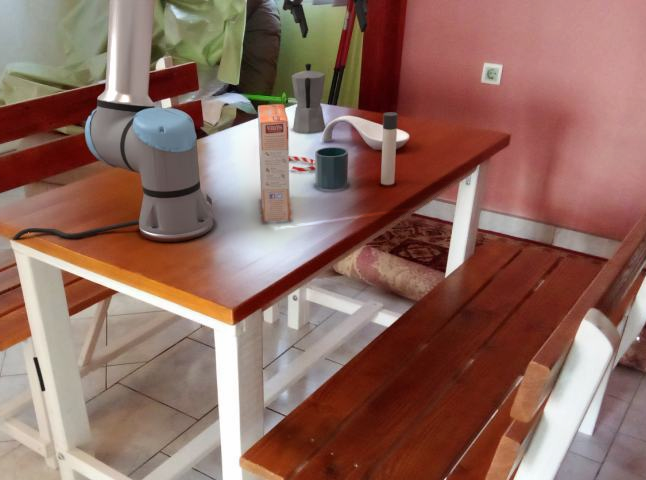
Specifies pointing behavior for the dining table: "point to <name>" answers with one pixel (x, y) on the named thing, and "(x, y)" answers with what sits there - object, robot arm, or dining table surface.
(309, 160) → the candy cane
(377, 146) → the spoon rest
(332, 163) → the pen holder
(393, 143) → the marker
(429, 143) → the dining table surface
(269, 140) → the cracker box
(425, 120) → the dining table surface
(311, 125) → the coffeepot
